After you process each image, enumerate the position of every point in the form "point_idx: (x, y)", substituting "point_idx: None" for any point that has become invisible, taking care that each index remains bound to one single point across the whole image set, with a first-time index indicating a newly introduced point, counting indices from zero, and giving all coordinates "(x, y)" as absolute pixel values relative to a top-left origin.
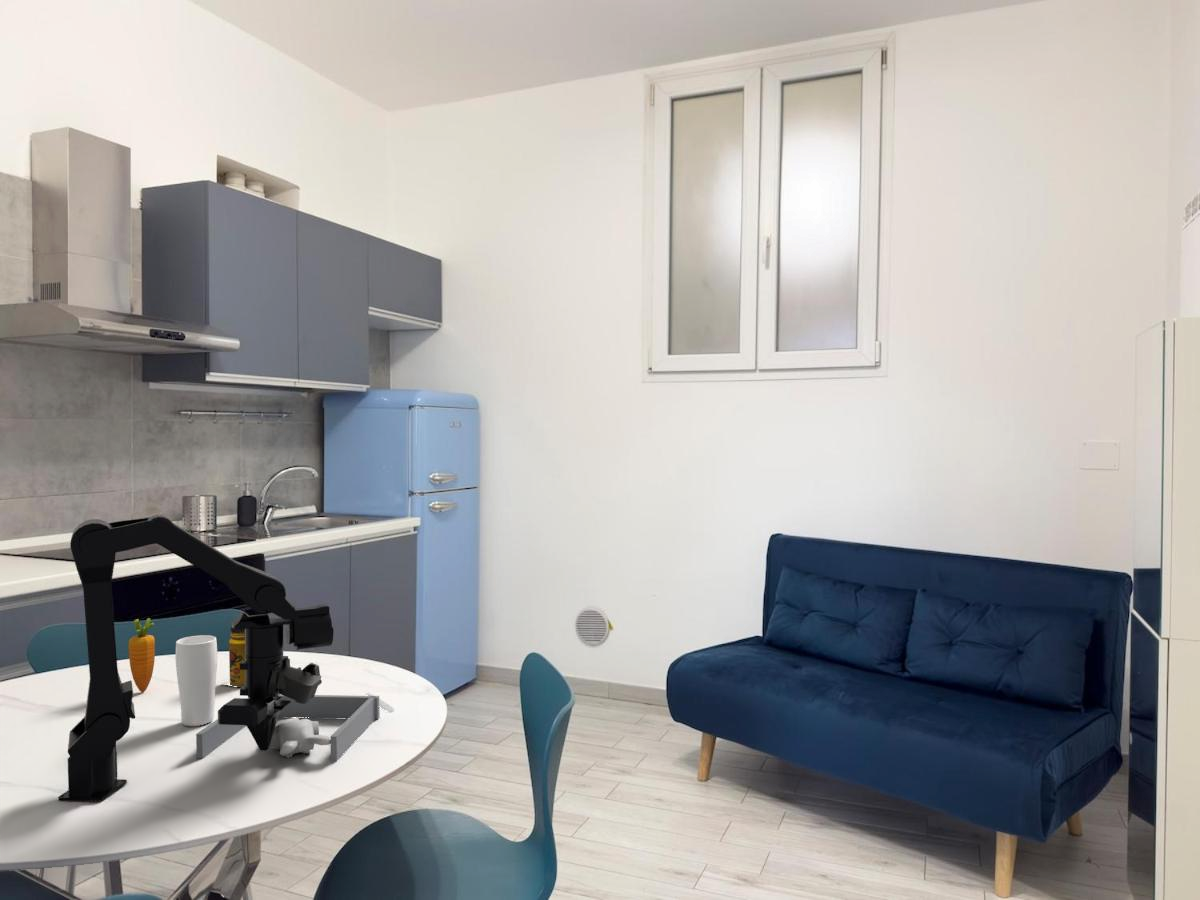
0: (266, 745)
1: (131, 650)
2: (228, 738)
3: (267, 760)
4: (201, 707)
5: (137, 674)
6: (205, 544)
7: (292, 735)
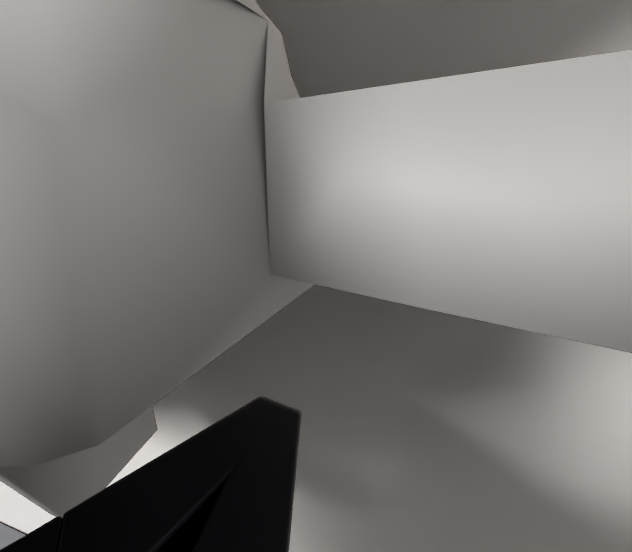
0: (296, 457)
1: None
2: (5, 529)
3: (323, 341)
4: None
5: None
6: None
7: (187, 227)
